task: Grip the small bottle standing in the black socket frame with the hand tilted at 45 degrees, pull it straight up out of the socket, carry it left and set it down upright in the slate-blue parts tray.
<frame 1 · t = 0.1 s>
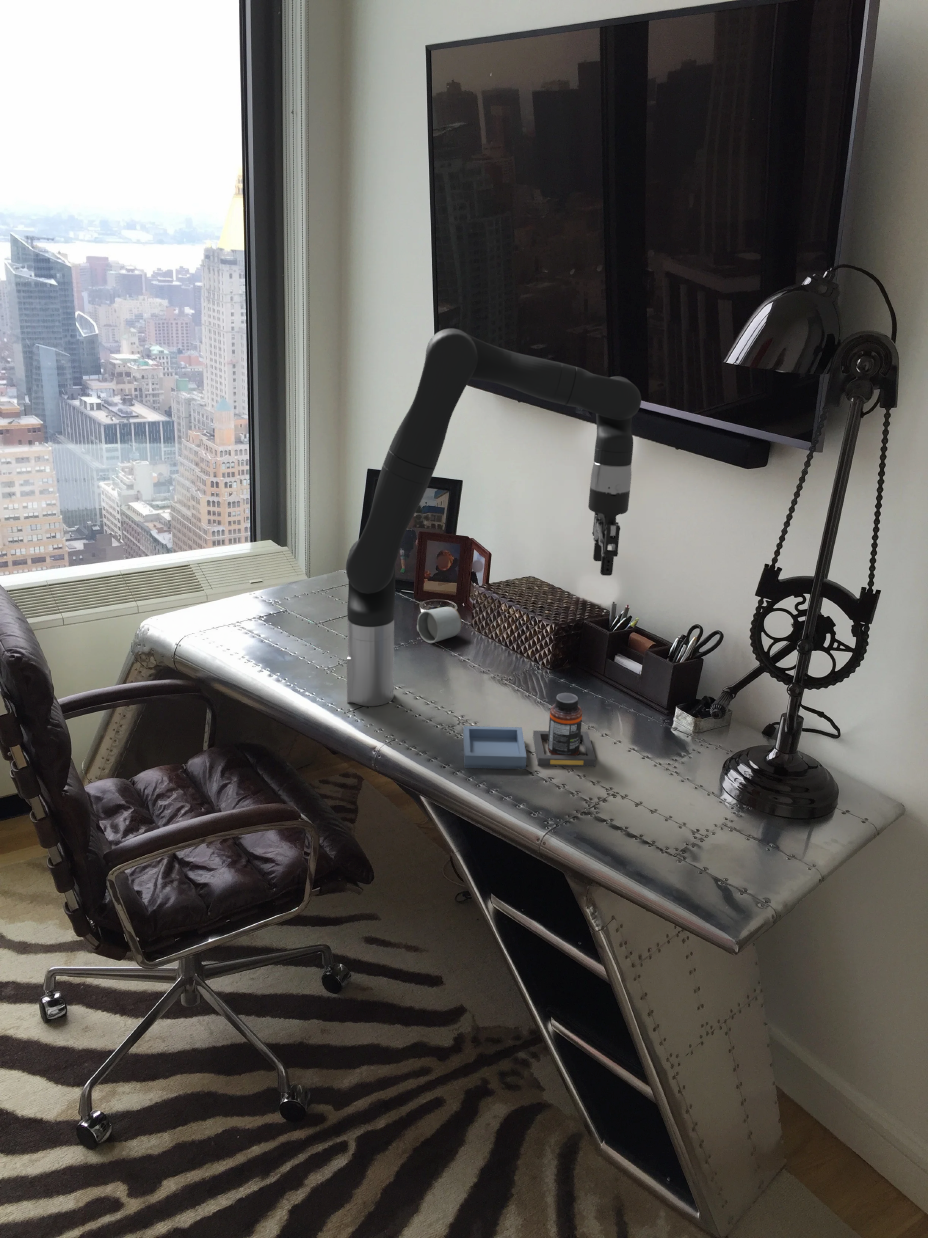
hand: (602, 567, 193), 29 cm above the table, tool pointing down, fingers open, 8 cm apart
parts tray: (493, 753, 183), on the table
supplement bottle: (563, 752, 184), resting in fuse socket
ceramic mug: (435, 637, 232), on the table
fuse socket: (563, 751, 184), on the table
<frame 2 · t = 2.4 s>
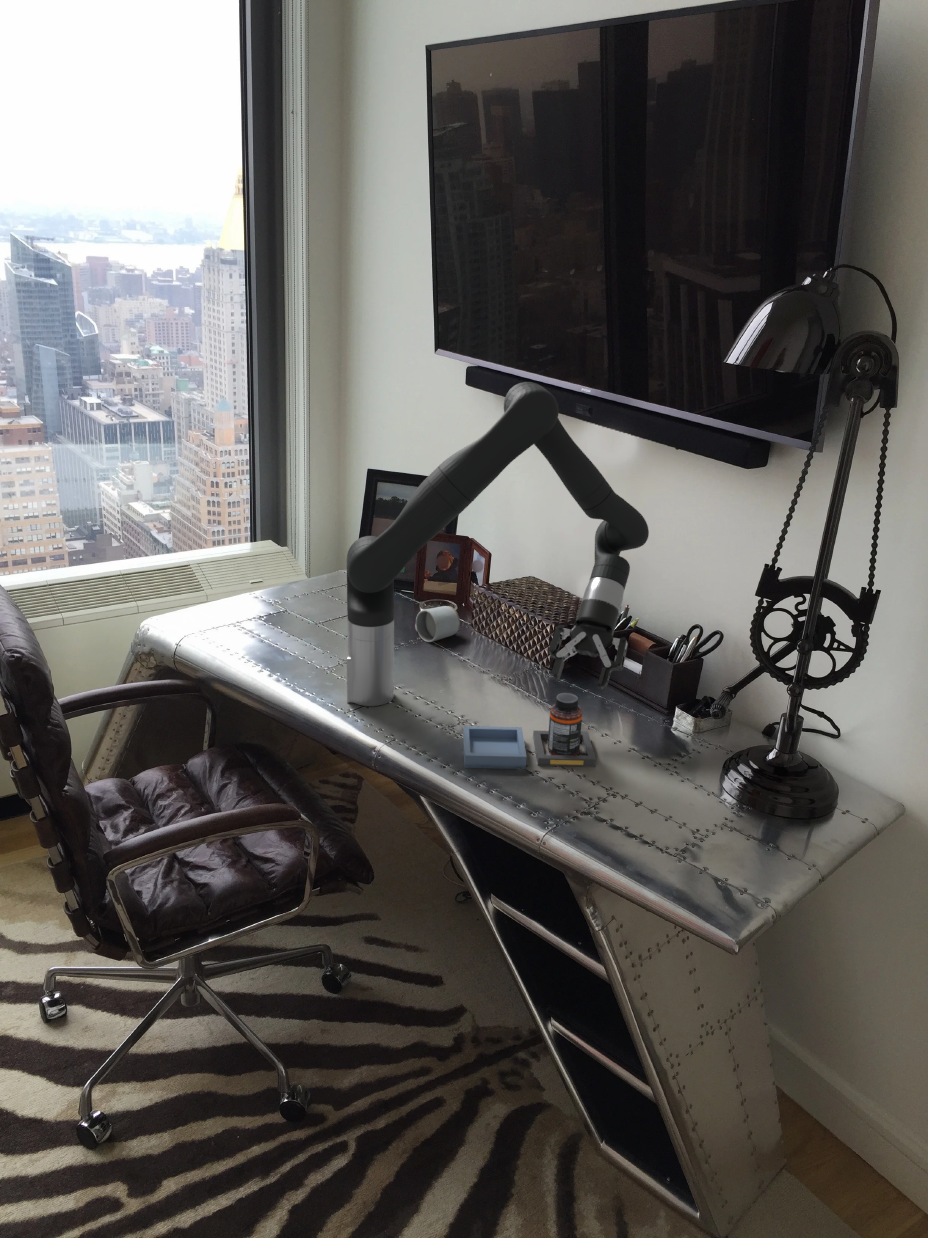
hand: (578, 683, 185), 11 cm above the table, tool tilted 45°, fingers open, 8 cm apart
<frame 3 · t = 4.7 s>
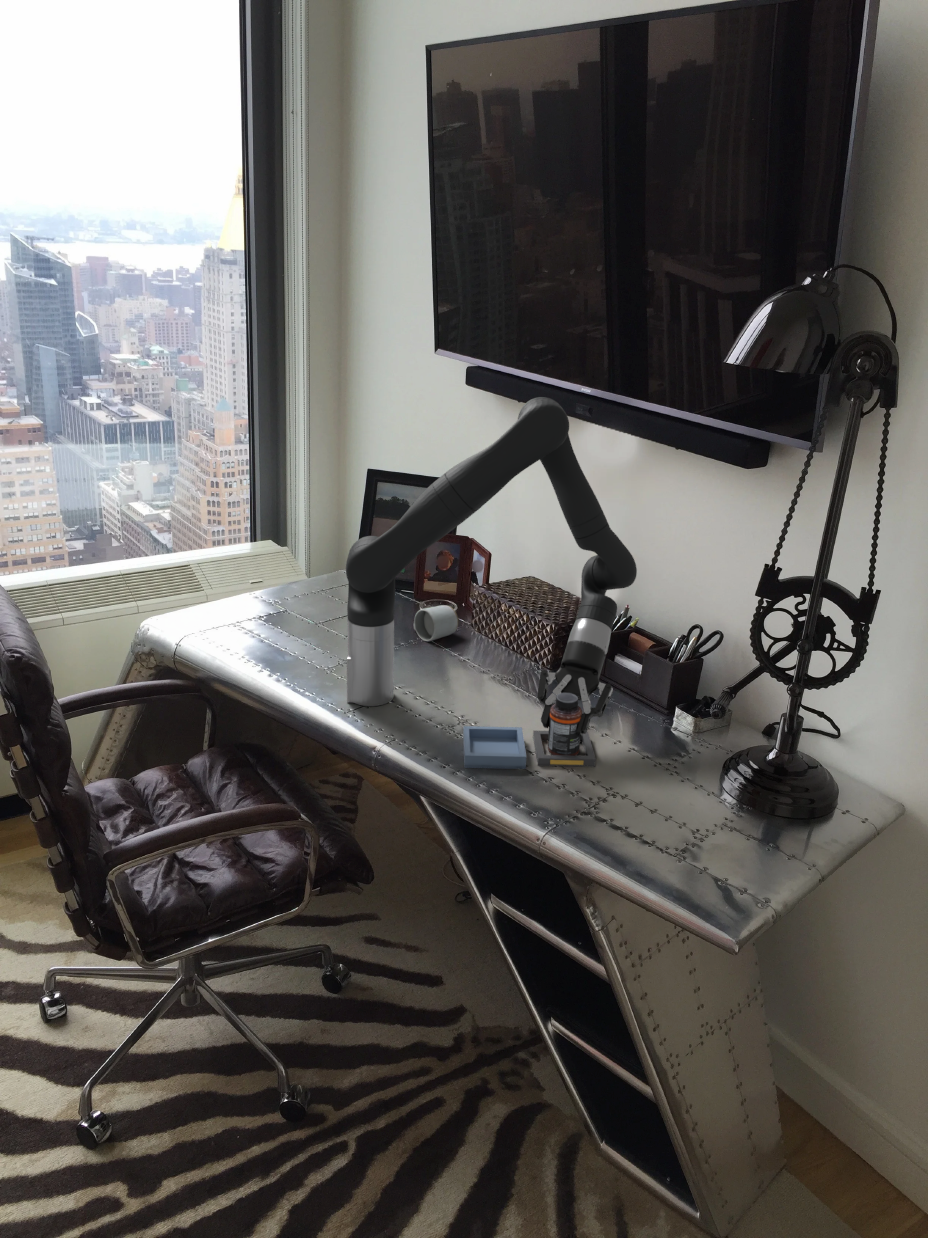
hand: (562, 730, 180), 5 cm above the table, tool tilted 45°, fingers closed on supplement bottle, 6 cm apart
supplement bottle: (563, 752, 184), resting in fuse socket, touching gripper
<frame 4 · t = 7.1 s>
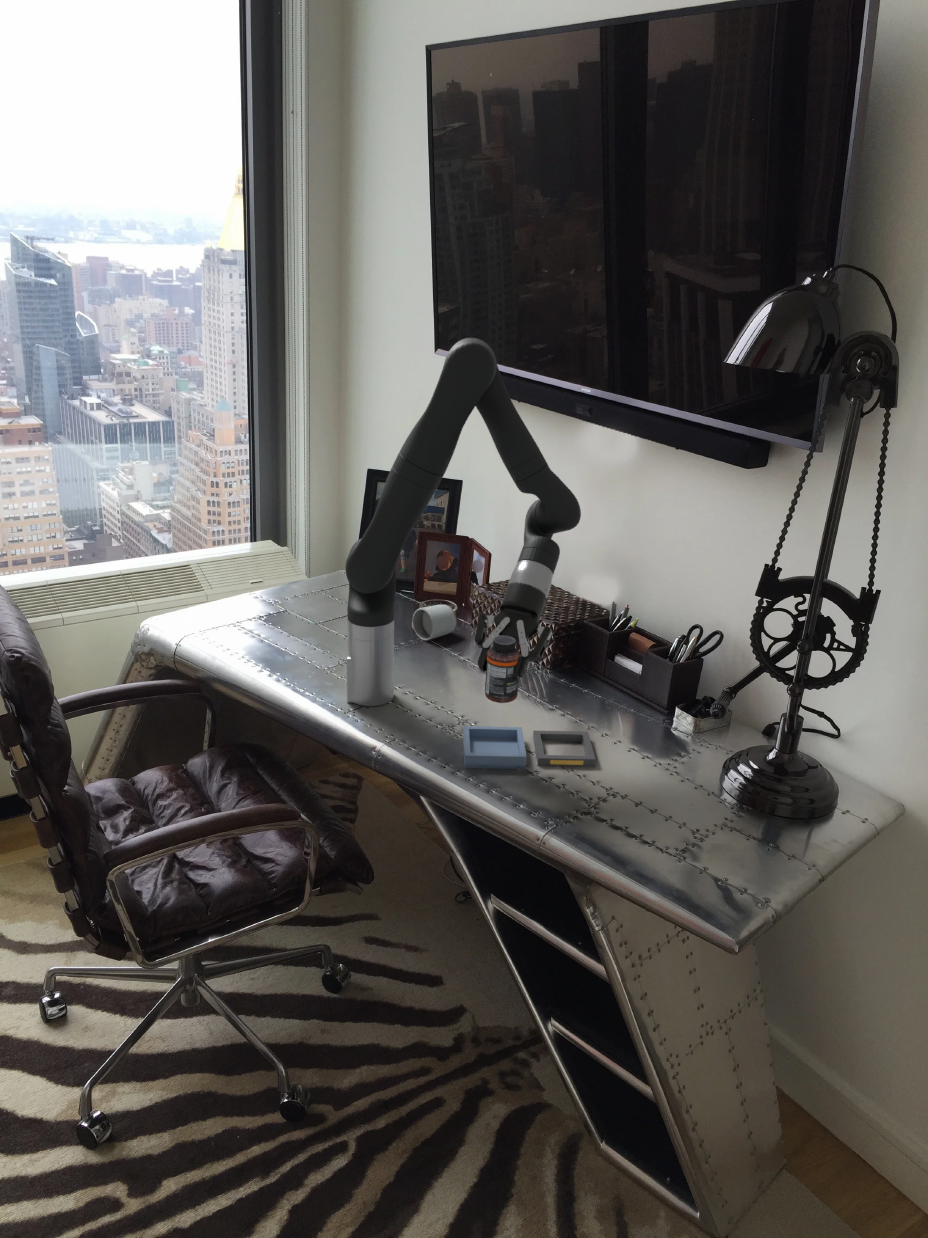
hand: (499, 673, 175), 17 cm above the table, tool tilted 45°, fingers closed on supplement bottle, 6 cm apart
supplement bottle: (500, 697, 179), point 11 cm above the table, touching gripper
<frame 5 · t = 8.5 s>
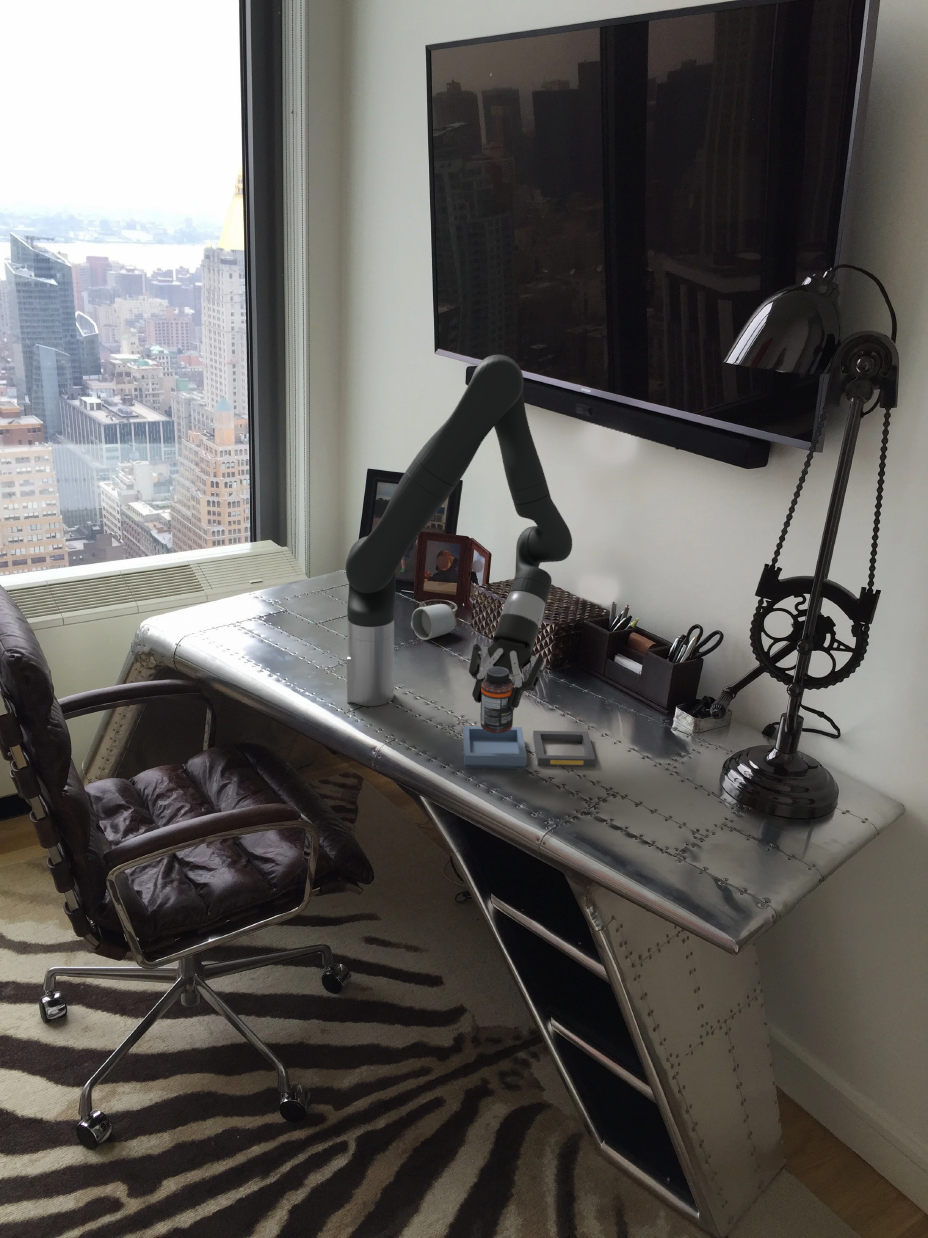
hand: (493, 704, 177), 11 cm above the table, tool tilted 45°, fingers closed on supplement bottle, 6 cm apart
supplement bottle: (496, 727, 181), point 5 cm above the table, touching gripper
when the fingers open (7 cm above the table, at t = 9.7 s): supplement bottle stays where it is, resting on parts tray.
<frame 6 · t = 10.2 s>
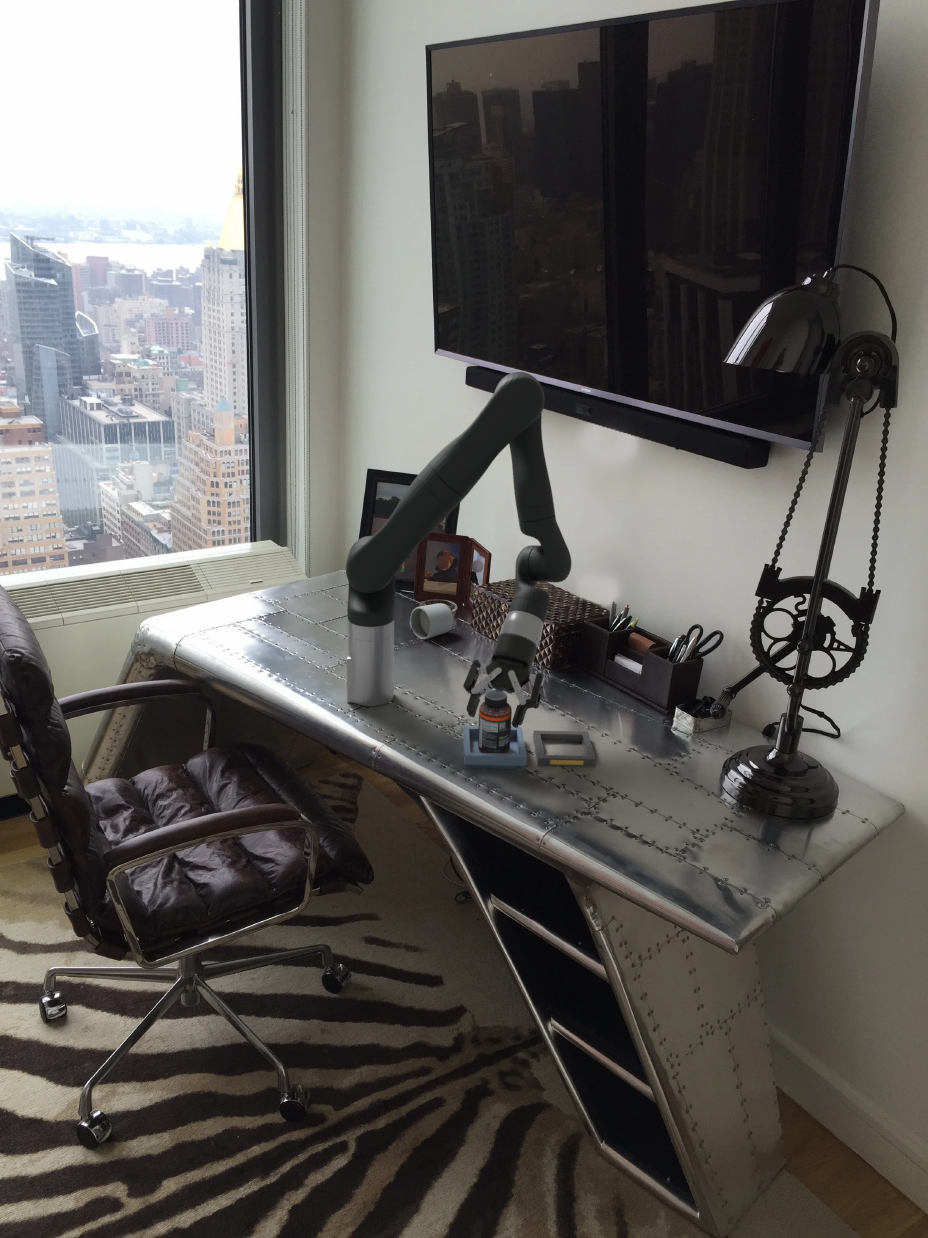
hand: (492, 721, 179), 7 cm above the table, tool tilted 45°, fingers open, 8 cm apart
supplement bottle: (493, 750, 183), resting on parts tray
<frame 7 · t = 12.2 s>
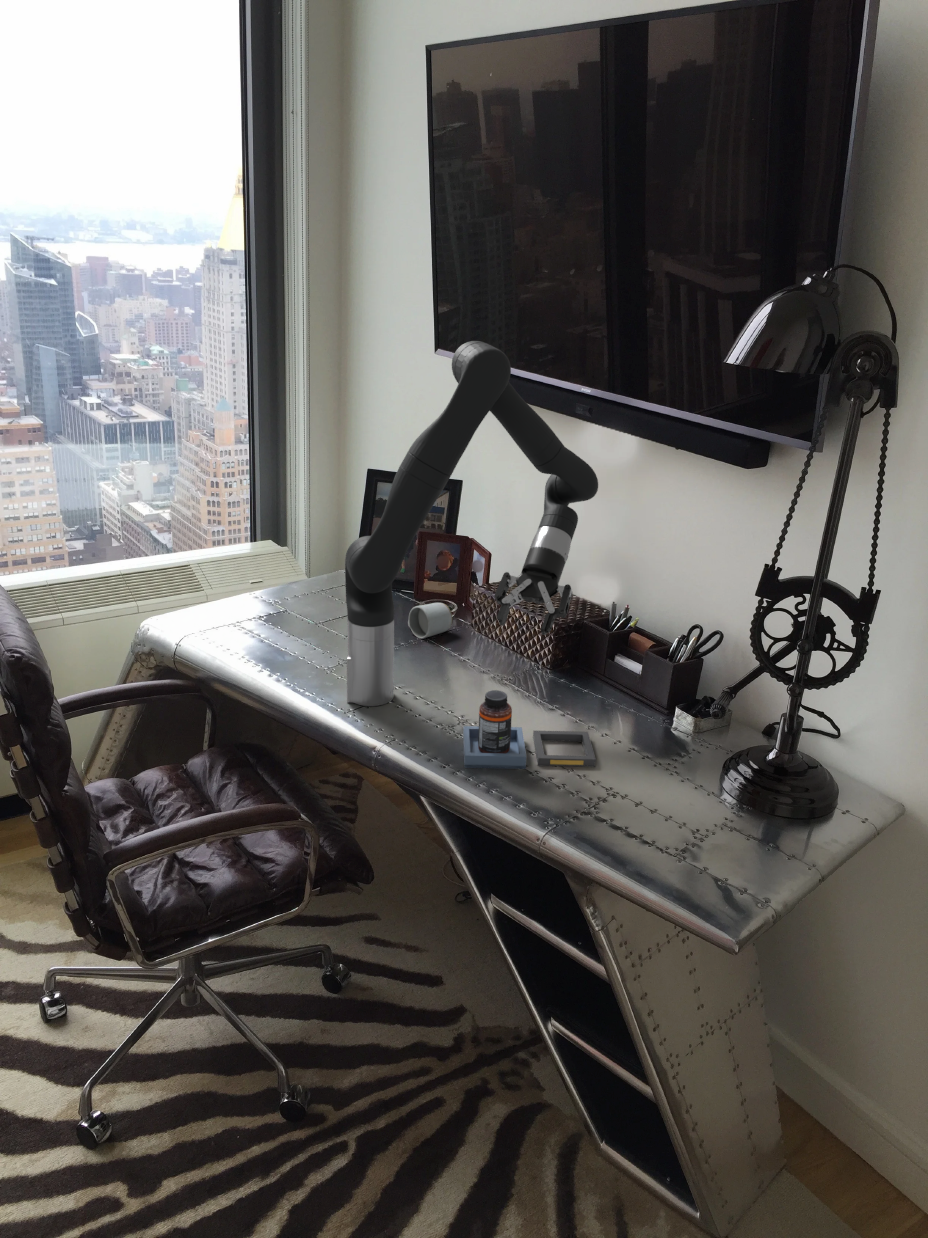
hand: (522, 628, 187), 20 cm above the table, tool tilted 45°, fingers open, 8 cm apart
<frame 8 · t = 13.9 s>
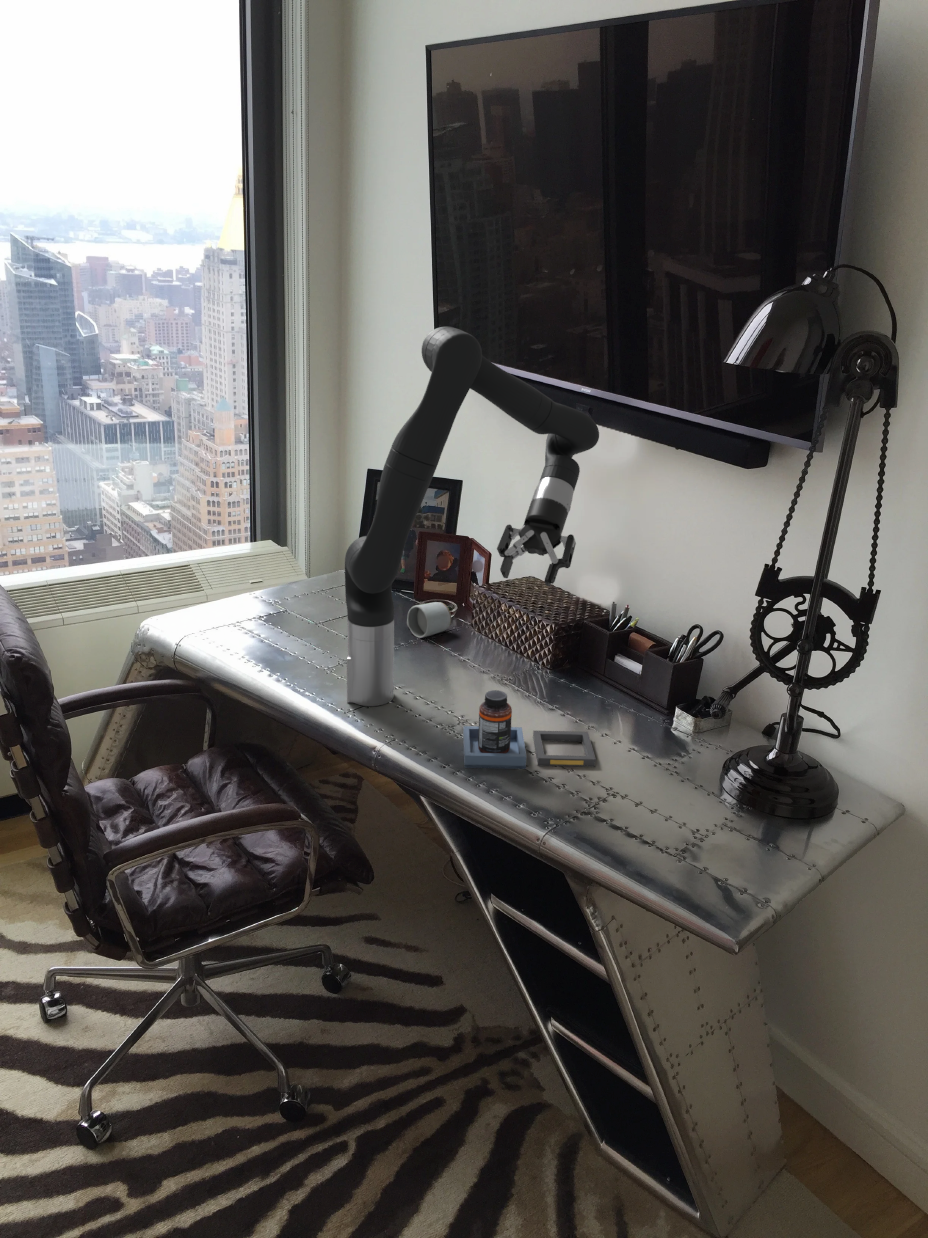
hand: (525, 580, 186), 29 cm above the table, tool tilted 45°, fingers open, 8 cm apart
at the end: supplement bottle inside the target area on the parts tray (0.2 cm from its centre), point 0.4 cm above the parts tray's base; supplement bottle tilted 0°; the gripper is holding nothing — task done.
